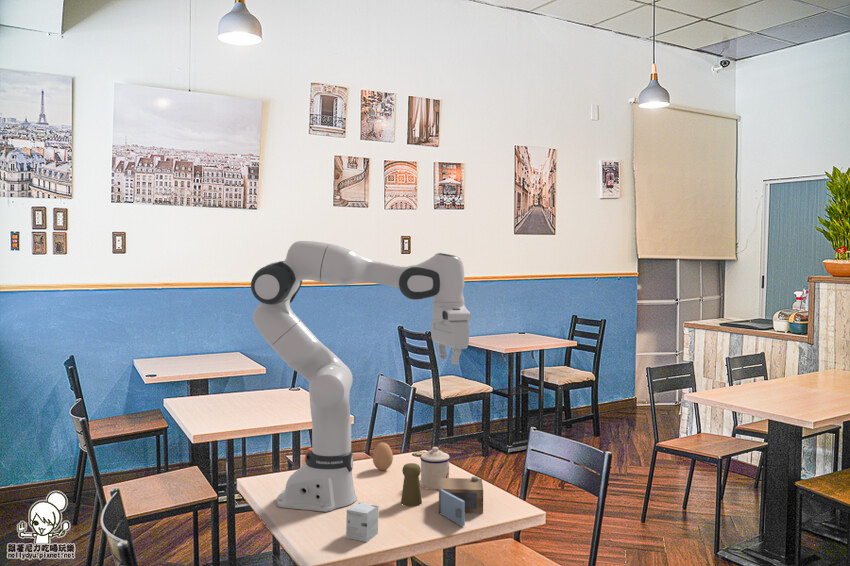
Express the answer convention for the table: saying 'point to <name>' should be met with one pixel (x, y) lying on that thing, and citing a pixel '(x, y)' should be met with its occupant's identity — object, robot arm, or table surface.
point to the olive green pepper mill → (411, 485)
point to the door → (452, 507)
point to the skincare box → (362, 521)
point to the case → (465, 492)
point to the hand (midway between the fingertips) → (448, 361)
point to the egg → (382, 456)
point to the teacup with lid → (434, 468)
